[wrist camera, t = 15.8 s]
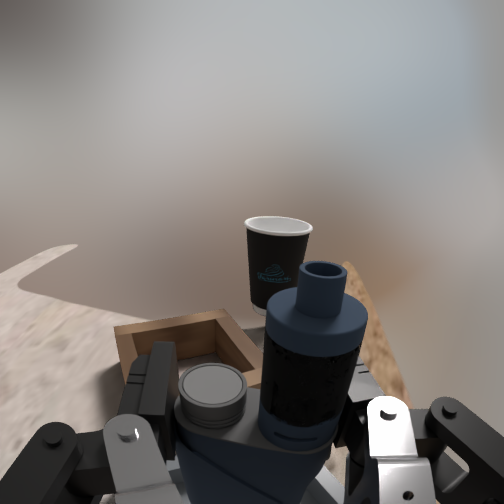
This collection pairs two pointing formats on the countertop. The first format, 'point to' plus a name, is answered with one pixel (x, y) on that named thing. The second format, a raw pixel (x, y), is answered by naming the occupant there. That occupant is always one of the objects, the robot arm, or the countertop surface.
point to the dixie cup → (274, 256)
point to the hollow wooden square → (193, 342)
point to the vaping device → (273, 399)
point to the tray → (314, 499)
